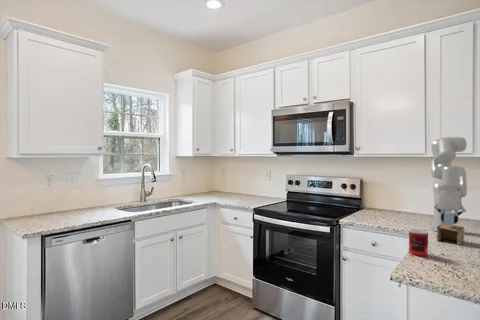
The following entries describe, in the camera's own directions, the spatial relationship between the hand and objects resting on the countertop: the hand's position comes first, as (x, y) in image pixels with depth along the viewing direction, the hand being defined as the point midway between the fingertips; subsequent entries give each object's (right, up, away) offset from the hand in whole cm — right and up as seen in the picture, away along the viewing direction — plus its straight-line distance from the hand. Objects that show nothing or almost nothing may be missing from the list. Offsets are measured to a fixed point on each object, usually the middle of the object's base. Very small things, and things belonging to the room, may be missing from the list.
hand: (449, 222), depth 163 cm
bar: (+2, -1, +3) cm, 4 cm away
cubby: (+2, -11, +3) cm, 12 cm away
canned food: (-31, -11, -22) cm, 39 cm away
